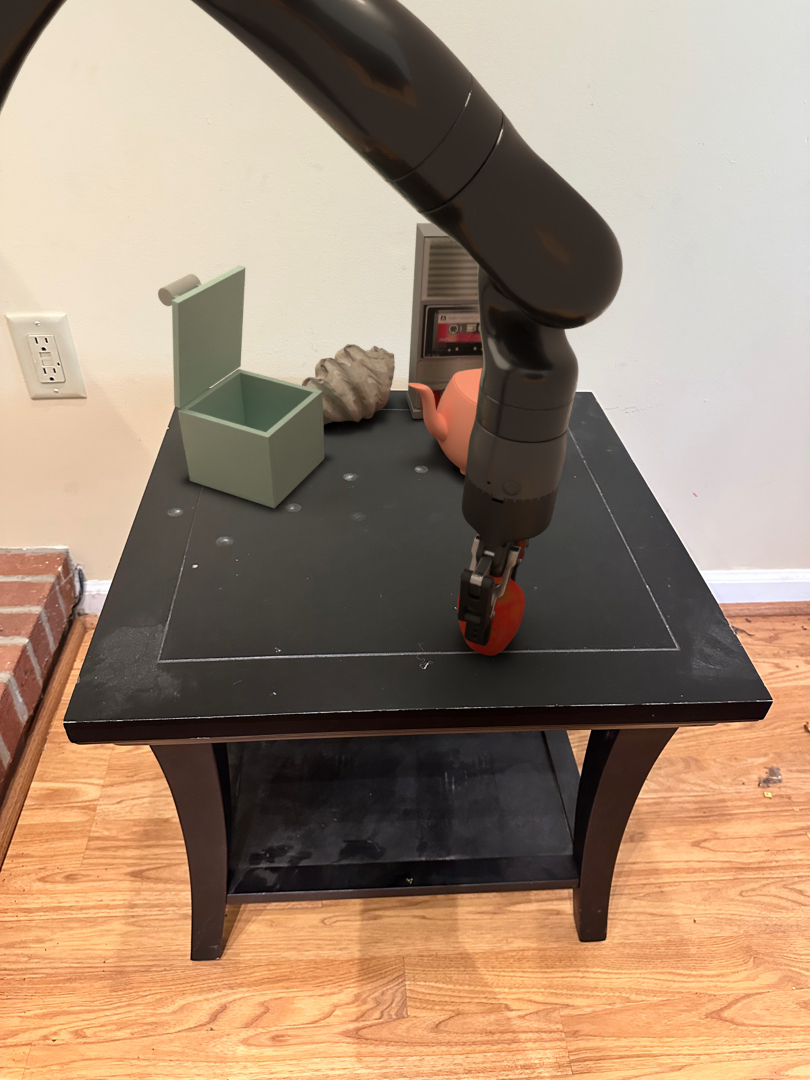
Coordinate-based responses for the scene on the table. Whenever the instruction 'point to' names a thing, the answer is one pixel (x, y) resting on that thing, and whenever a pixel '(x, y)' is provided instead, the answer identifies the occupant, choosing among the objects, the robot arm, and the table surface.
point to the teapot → (452, 414)
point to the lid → (205, 330)
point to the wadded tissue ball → (353, 383)
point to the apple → (502, 620)
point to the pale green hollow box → (253, 436)
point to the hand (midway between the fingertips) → (488, 616)
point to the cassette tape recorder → (442, 315)
